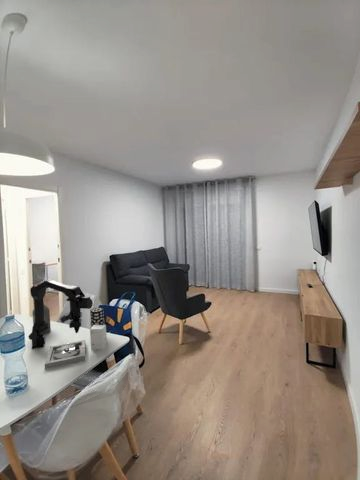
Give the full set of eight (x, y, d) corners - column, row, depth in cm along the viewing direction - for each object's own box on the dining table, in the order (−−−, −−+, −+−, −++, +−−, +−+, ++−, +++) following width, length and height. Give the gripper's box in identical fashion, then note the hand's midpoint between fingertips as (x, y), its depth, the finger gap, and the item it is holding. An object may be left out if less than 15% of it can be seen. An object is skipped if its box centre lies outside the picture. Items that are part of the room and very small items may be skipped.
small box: (107, 344, 153) (106, 324, 152) (104, 349, 147) (102, 328, 146) (94, 344, 153) (93, 324, 152) (90, 349, 147) (89, 329, 146)
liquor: (41, 329, 177) (38, 289, 175) (52, 329, 176) (49, 289, 174) (31, 335, 168) (28, 293, 166) (43, 335, 167) (40, 293, 165)
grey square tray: (44, 369, 128) (44, 363, 127) (50, 351, 146) (49, 345, 146) (85, 360, 135) (84, 355, 135) (85, 344, 153) (85, 339, 153)
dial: (52, 362, 131) (51, 354, 131) (54, 349, 144) (54, 343, 144) (79, 356, 137) (79, 348, 136) (79, 344, 150) (79, 338, 149)
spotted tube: (97, 343, 154) (95, 313, 153) (89, 340, 159) (87, 310, 157) (107, 337, 161) (106, 308, 160) (99, 335, 166) (97, 306, 164)
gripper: (61, 305, 151) (63, 329, 152) (58, 315, 133) (60, 342, 134) (81, 302, 155) (82, 325, 156) (80, 312, 137) (82, 338, 138)
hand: (76, 332), depth 146 cm, fingers closed
